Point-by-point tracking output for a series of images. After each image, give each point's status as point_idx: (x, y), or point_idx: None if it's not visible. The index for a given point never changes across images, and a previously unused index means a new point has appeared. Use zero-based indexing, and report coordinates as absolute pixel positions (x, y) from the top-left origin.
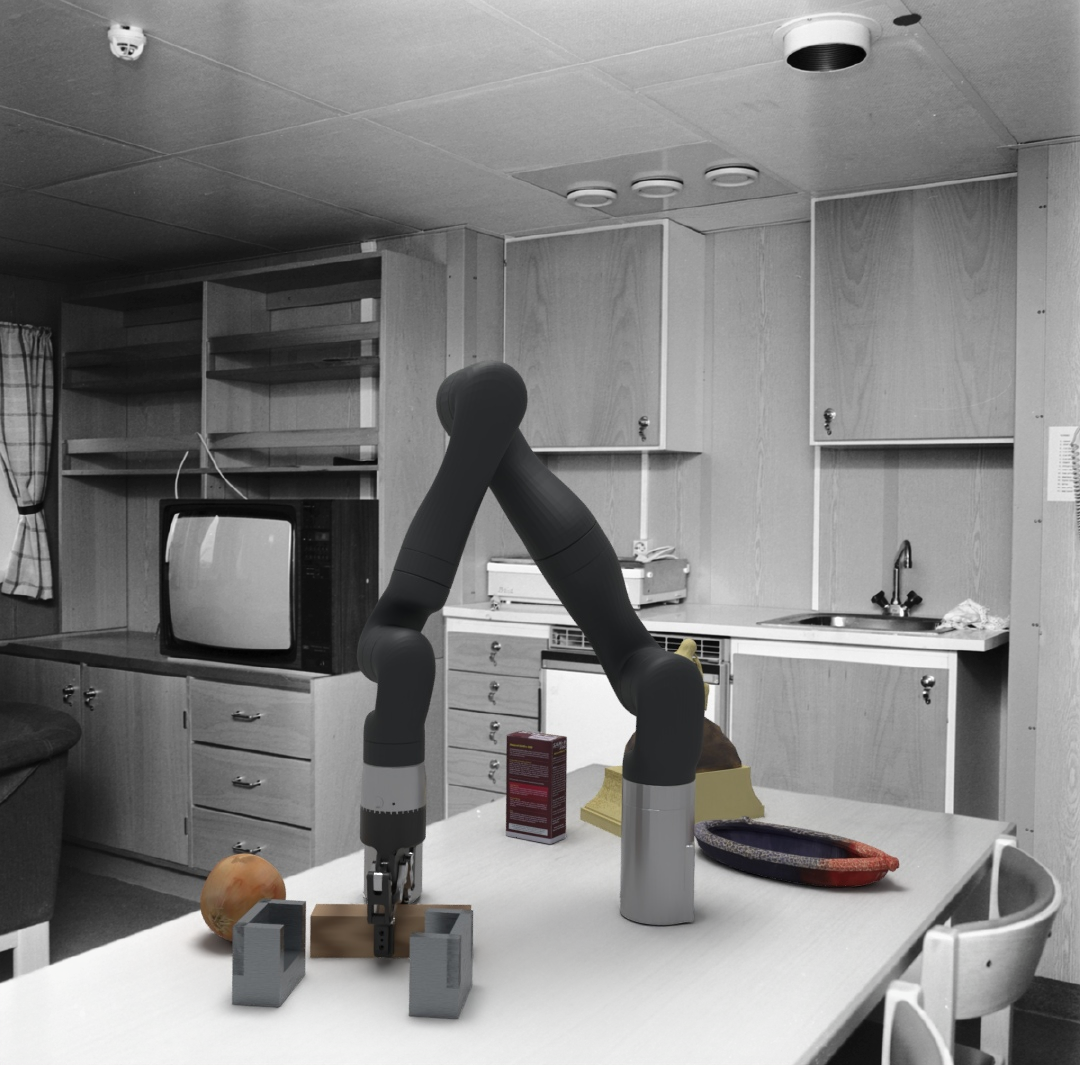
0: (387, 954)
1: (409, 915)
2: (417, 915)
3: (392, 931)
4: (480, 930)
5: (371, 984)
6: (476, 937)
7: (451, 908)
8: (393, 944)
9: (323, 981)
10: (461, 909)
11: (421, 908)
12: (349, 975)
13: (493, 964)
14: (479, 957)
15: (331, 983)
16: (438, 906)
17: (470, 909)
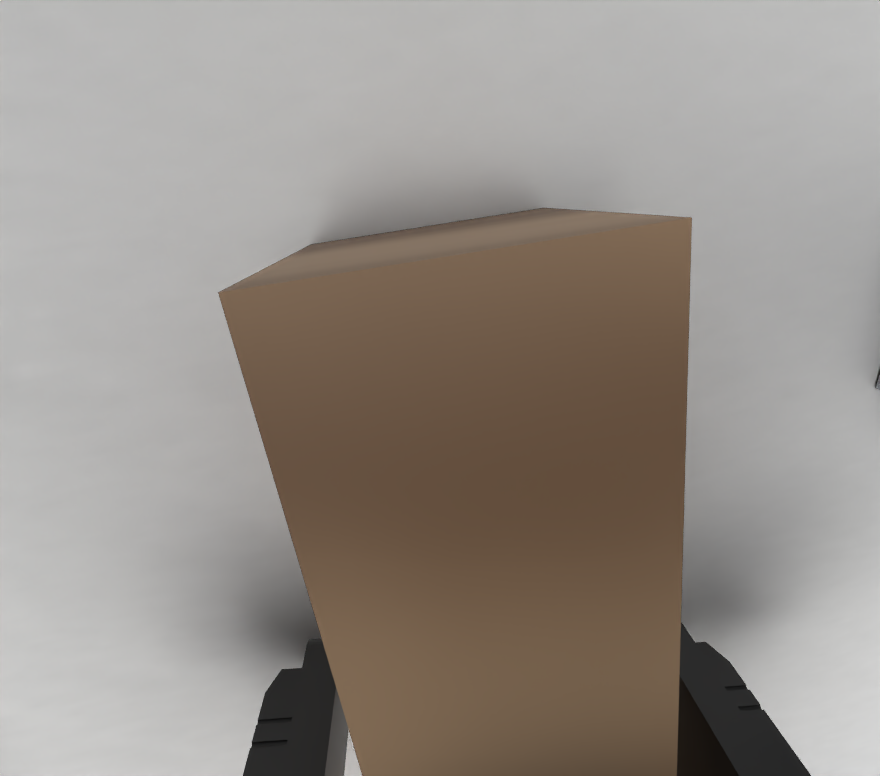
0: (703, 646)
1: (650, 769)
2: (653, 721)
3: (760, 749)
4: (7, 225)
5: (864, 603)
6: (157, 230)
7: (424, 498)
8: (699, 666)
9: (811, 753)
10: (430, 383)
11: (469, 738)
12: (762, 698)
13: (637, 5)
14: (519, 140)
15: (833, 727)
16: (388, 628)
17: (414, 268)
